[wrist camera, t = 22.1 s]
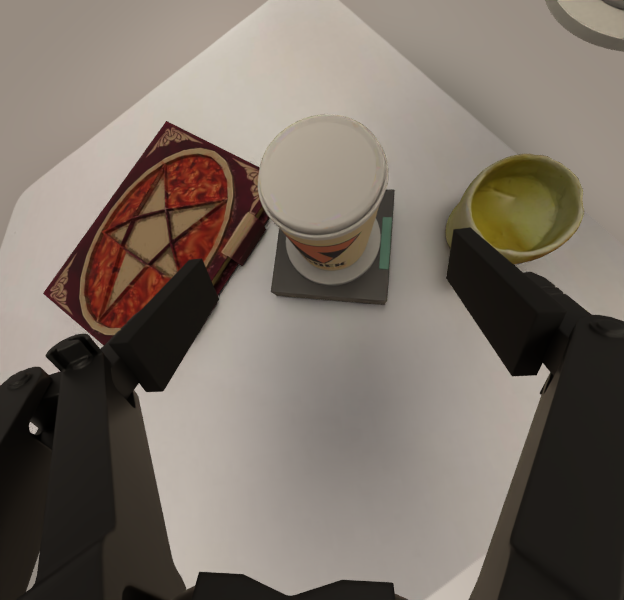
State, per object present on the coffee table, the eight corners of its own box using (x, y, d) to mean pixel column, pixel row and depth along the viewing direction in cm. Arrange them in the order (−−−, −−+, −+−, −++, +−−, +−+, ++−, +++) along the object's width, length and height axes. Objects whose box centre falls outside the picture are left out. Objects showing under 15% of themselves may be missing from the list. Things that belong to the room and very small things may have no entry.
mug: (482, 157, 31) (551, 116, 21) (538, 225, 32) (630, 215, 22) (397, 235, 33) (424, 231, 23) (452, 295, 34) (500, 316, 24)
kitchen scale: (391, 201, 33) (395, 185, 30) (384, 304, 31) (388, 300, 28) (289, 198, 36) (283, 184, 32) (276, 295, 34) (268, 290, 30)
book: (178, 137, 41) (154, 108, 36) (292, 195, 36) (281, 170, 31) (66, 296, 39) (24, 288, 34) (168, 381, 34) (136, 386, 29)
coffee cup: (278, 262, 31) (232, 209, 19) (310, 189, 32) (285, 97, 20) (356, 291, 29) (358, 252, 17) (388, 213, 30) (410, 126, 18)
